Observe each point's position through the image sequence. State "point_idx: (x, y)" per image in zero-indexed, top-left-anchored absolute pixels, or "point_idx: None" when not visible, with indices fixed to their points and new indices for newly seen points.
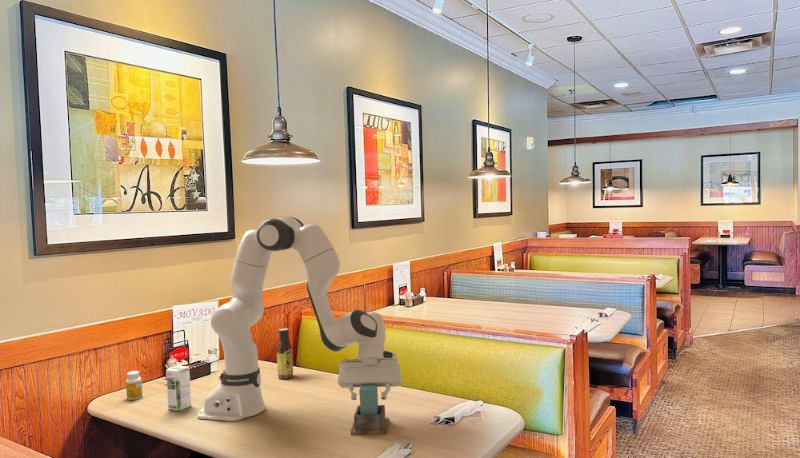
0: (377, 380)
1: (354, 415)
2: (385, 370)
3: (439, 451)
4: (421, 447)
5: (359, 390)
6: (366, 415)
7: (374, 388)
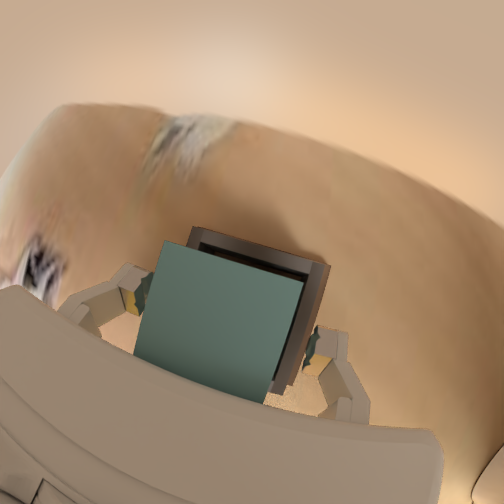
0: (110, 358)
1: (322, 272)
2: (17, 399)
3: (116, 104)
4: (140, 124)
5: (301, 283)
6: (264, 252)
7: (166, 269)
